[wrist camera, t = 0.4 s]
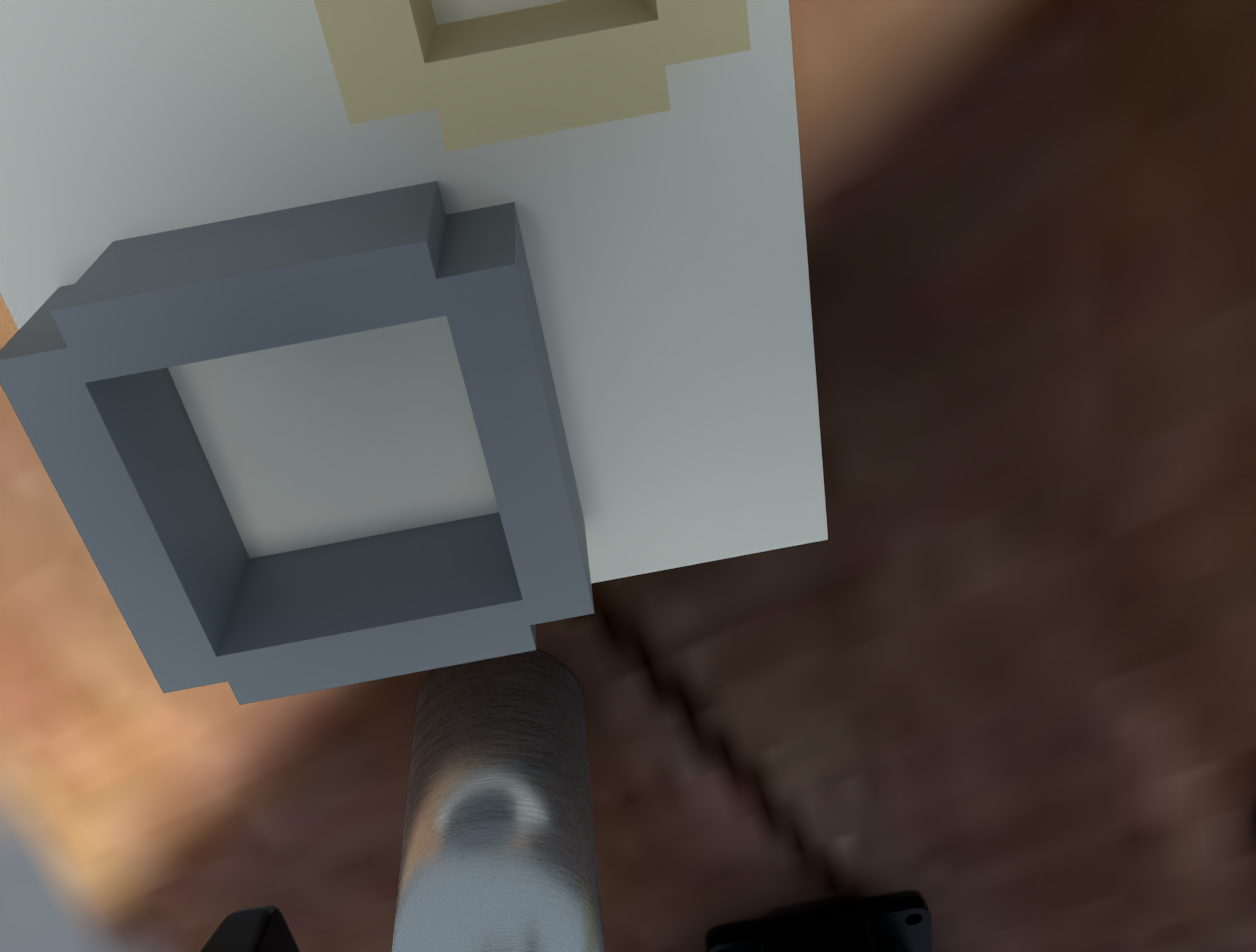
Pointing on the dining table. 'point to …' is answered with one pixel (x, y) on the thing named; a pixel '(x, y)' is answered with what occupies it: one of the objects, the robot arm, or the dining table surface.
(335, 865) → the dining table surface
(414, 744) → the metal cylinder
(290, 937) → the robot arm
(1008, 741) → the dining table surface
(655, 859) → the dining table surface
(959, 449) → the dining table surface
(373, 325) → the fitting plate
